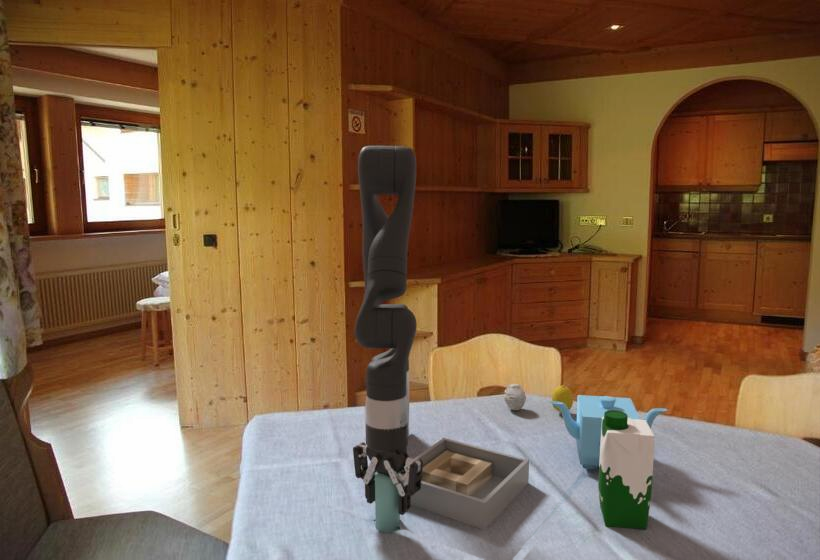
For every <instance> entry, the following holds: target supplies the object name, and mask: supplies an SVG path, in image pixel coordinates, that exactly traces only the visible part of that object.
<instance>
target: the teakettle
mask: <svg viewBox="0 0 820 560" xmlns="http://www.w3.org/2000/svg"><path fill="white" fill-rule="evenodd" d="M576 398H577V401H576V420H574V419H573V417H572V415H571V412H570V410H569V409H568V407H567V406H566V405H565V404H564V403H562V402H558V401H552V400H551V401H549V403H550V404H552V405H553V404H554V405H555V406H557V407H558V408H559V409H560V411H561V413H562V414H561V413H560V414H561V415H562V419H563V421H564V426H565V428H566V431H567V432H568V433H569V435H570V436H571V437H572V438H574V439H575V441H576V447H577V454H578V460H579V465H582V467H584V469H587V470H597V468H598V467H599V460H600V441H601V426H602V417H604V413H605V412H606V411H609V410H616V411H621V412H624V413H626V414H627V416H628V418H631V419H640V420H641V418H640V416H639V414H638V412H637V410H636V409H637V408H636V406H635V404H634V403H633V400H632V399H631V398H630V397H617V396H616V397H615V396H609V395H603V396H601V395H599V396H598V395H585V394H584V395H583V394H578V395H577V397H576ZM667 411H669V410H668V409H667V408H662V407H658V408H657V407H656V408H651V409H650V410H648V412H647V413H646V415H645V416H644V419H643V420H646V422H647V424H648V425H649V427H650V429H651V428H652V425H653V423H654V421H655V420H656V418H657V417H658V416H659V415H660V414H663V413H665V412H667Z"/></svg>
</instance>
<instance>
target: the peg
mask: <svg viewBox="0 0 820 560" xmlns="http://www.w3.org/2000/svg"><path fill="white" fill-rule="evenodd" d="M397 476H398V477H399V476H400V474H399V473H398V474H397ZM398 495H400V494H399V492H398V489H397V487H396V485H395V484H393V482H392V480H391V477H389V476H387V475H385V474H379V473H377V472H376V473H375V501H374V503H375V505H374V506H375V509H374V510H375V512H374V514H375V529H376V530H377V531H379V532H381V533H384V534H385V533H386V534H390V533H394V532H396V531H398V530H399V529H400V526H398V525H399V524H400V522H401V514H399V513H398Z"/></svg>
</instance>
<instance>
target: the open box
mask: <svg viewBox="0 0 820 560" xmlns="http://www.w3.org/2000/svg"><path fill="white" fill-rule="evenodd" d="M445 451H450V452H454V453H457V454H461V455H465V456H468V457H472V458H476V459H479V460H483V461H487V462H490V463H492V477H491V478H490V479H489V480H487V481H486V482H485V483H484V484H483V485H482V486H481V487H480V488H479V489H478V490H477V491H475V492H474V493H473V494H472V495H471V496H469V495H466V494H462V493H459V492H456V491H453V490H450V489H446V488H443V487H440V486H437V485H434V484H430V483H427V482H424V481H421V489H420V490H419V491H417V492H416V493H415V494H414V495H413V496H411V506H412V507H413V506H414V507H417V508H419V509H423V510H425V511H429V512H432V513H434V514H436V515H439V516H440V515H441V516H443V517H447V518H449V519H452V520H456V521H458V522H461V523H464V524H466V525H469V526H473V527H475V528H478V529H481V530H483V531H484V530H486V529H487V528H488V527H489V526H490V525H491V524H492V523H493V522H494V521H495V520H496V519H497V518H498V516H499V515H500V514H501V513H502V512H503V511H505V509H506V508H507V507H508V506H509V505H510V504H511V503H512V502H513V501H514V500H515V498H516V497H517V496H518V495H519V494H520V493H521V492H522V491H523V490H524V488H526V487H527V485H529V480H530V479H529V475H530V473H529V472H530V469H529V468H530V459H526V458H522V457H520V456H515V455H511V454H507V453H504V452H500V451H495V450H492V449H489V448H484V447H481V446H477V445H473V444H468V443H464V442H462V441H458V440H453V439H450V438H445V437H443V438H441V439H440V440H438V441H437V442H436V443H434V444H432V445H431V446H430V447H428V448H426V450H424V451H423V452H421V453H420V454H418V455H417V456H415V457H414V458H413V459H414V460H418V459H421V460H422V461H423V467H424V466H426V465H427V464H428V463H430V462H431V461H432V460H434V459H435V458H437V457H438V456H439V455H441V454H442V453H443V452H445ZM405 466H406V469H407V470H408V467H407V465H405ZM408 473H409V472H408ZM449 473H453V474H456V475H460V476H463V474H460V473H456V472H453V471H450V472H449ZM399 474H400V475H401V472H400V473H399ZM408 478H409V477H408ZM402 483H403V482H402ZM403 486H404V484H403ZM404 487H405V486H404Z"/></svg>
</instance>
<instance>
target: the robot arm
mask: <svg viewBox="0 0 820 560" xmlns="http://www.w3.org/2000/svg"><path fill="white" fill-rule="evenodd" d="M357 161H358V162H357V174H358V175H357V176H358V185H359V195H360V197H359V198H360V205H361V207H360V208H361V215H362V217H361V218H362V265H363V275H364V276H363V277H364V297H363V299H362V304H361V306H360V308H359V311H358V313H357V316H356V320H355V323H354V336H355V340H356V342H357V343H358V345H360V346H361V347H362V348H365V349H388V350H387V351H384V352H382V353H378V354H376V355H374V356H373V357H372V358H371V361H370V362H369V363H368V364H367V366H366V371H365V373H366V374H365V376H366V377H365V380H366V384H365V385H366V396H365V397H366V399H365V406H364V408H365V418H364V420H365V442H363V441H362V442H360V443H359V444H357V445H355V446H353V448H352V452H353V453H352V455H353V462H354V463H353V464H354V474H355V477H356V478H357V479H361V480H363V481H362V483H364V498H365V499H366V503H368V504H370V505H371V504H373V503H375V473H376V472H377V473H379V474H385V475H387V476H389V477H391V480H392V482H393V484H395V485H396V487H397V489H398V492H399V494H400V495H398V513H399V514H400V516H403V515H405V514H407V513H408V511H409V510H410V509H411V506H412V505H411V496H413V495H414V494H415V493H416V492H417V491H419V490H420V489H421V481H422V470H423V461H422V460H421V459H418V460H414V458H412V457H410V456H409V454H408V451H407V449H408V444H409V443H408V442H409V436H410V354H411V350H412V347H413V343H414V340H415V336H416V334H417V326H418V324H417V318H416V316H415V315H414V313H413V312H412V310H410V309H409V307H408V306H407V305H406V304H402V303H390V304H389V303H384V302H386V301H388V300H392V299H393V300H394V299H398V298H400V297H403V295H405V293H406V291H407V285H408V284H407V283H408V280H407V279H408V251H409V250H408V249H409V248H408V247H409V238H410V231H411V224H412V219H413V212H414V211H413V210H414V204H415V203H414V202H415V195H416V183H417V157H416V154H415V151H414V150H413V148H411V147H410V146H405V145H403V146H402V145H366V146H364V147H362V149H361V150H360V152H359V155H358V160H357ZM378 195H384V196H385V195H388V196H389V195H391V196H392V195H393V196H394V195H395V196H398V197H397V201H396V205H395V207H394V209H393V210H392V212H391V214H390V216H389V215H388V214H387V213H386V211H385V210H384V208H383V206H382V204H381V202H380V201H381V200H380V198H379V196H378ZM381 303H383V304H381ZM368 460H369V461H370V463H368ZM405 465H407V467H408V470H407V469H406V466H405ZM400 472H401V475H400V476H399V477H398V476H397V474H398V473H400ZM408 472H409V473H408ZM408 477H409V478H408ZM402 482H403V483H402ZM403 484H404V486H405V487H404V486H403Z"/></svg>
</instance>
